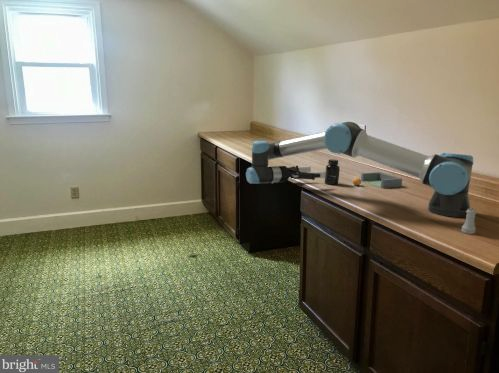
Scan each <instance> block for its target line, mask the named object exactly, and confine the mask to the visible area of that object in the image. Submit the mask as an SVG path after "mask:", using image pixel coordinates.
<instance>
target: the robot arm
mask: <svg viewBox="0 0 499 373" xmlns="http://www.w3.org/2000/svg"><path fill="white" fill-rule="evenodd" d="M252 142H253V143H252V149H251V166H250V167H248V168H246V172H245V177H246V181H247V182H248V183H249V184H251V185H252V184H257V185H259V184H274V183H284V182H285V183H287V181H288V180H290V179H293V180H312V181H315V179H323V178H324V179H325V173H326V171H315V172H314V171H313V172H311V170H312V169H311V168H312V167H311V166H299V165H295V166H289V167H287V165H278V166H277V165H275V166H274V165H272V166H269V161H271V160H274V159H280V158H284V157H289V156H295V155H296V156H297V155H299V154H300V155H301V154H305V153H306V154H307V153H312V152H316V151H320V150H321V151H322V150H328V151H329V152H331V153H333V154H338V155H340V154H343V155H344V156H347V157H351V158H354V159H355V158H356V157H362V158H364V159H367V160H370V161H373V162H375V163H379V164H380V165H383V166H386V167H389V168H391V169H394V170H396V171H400V172H402V173H404V174H408V175H411V176H412V177H416V178H418V179H419V180H420V182H421V184H422V185H425V186H428V187H430V188H432V190H434V191H433V194H432V195H431V198H430V200H429V201H428V206H427V210H428V211H429V212H431V213H433V214H437V215H440V216H445V217H452V218H453V217H454V218H466V215H467V213H466V211H467V209H469V208H470V210H472V208H471V204H470V198H469V189H470V182H471V177H472V170H473V165H474V157H473V155H469V154H462V153H461V154H460V153H450V152H448V153H447V152H441V153H440V154H436V153H434V154H431V155H426V154H424V153H420V152H418V151H415V150H411V149H409V148H406V147H403V146H401V145H397V144H395V143H392V142H389V141H386V140H383V139H380V138H377V137H374V136H371V135H368V134H367V131H366V130H365V129H363V128H361V127H360V125H358V124H357V123H355V122H354V121H353V122H352V121H345V122H335V123H333V124H331V125H330V126H329V127H328V128H327V129H326V130H325V131H323V132H317V133H313V134H308V135H304V136H299V137H298V136H297V137H295V138H290V139H287V140H286V139H285V140H281V141H277V142H271V143H269V142H268V141H266V140H255V141H252Z"/></svg>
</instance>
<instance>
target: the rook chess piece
mask: <svg viewBox="0 0 499 373" xmlns="http://www.w3.org/2000/svg"><path fill="white" fill-rule="evenodd" d="M466 213H467V215H466V217H465V218H466V219H465V221H464V223H463V225H462V226H461V229H460V230H461V232H462V233H464V234H468V235H474V234H476V230H477V228H476V225H475V218H476V214H478V212H477V210H476V209H475V208H471V210H470V208H469V209H467V211H466Z"/></svg>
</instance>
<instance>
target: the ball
mask: <svg viewBox="0 0 499 373" xmlns="http://www.w3.org/2000/svg"><path fill="white" fill-rule="evenodd" d="M352 183H353V185H354V186H360V185H361V184H362V181H361V178H359V177H354V178H353V179H352Z"/></svg>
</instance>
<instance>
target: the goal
mask: <svg viewBox="0 0 499 373" xmlns="http://www.w3.org/2000/svg"><path fill="white" fill-rule="evenodd" d="M360 177H361V178H360V179H361V182H364V183H366V184H370V185H372V186H375V187H378V188H381V189H391V188H401V187H402V185H403V178H401V177H398V176H394V175H391V174H387V173H384V172H380V171H376V172H362V173H361V176H360Z"/></svg>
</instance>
